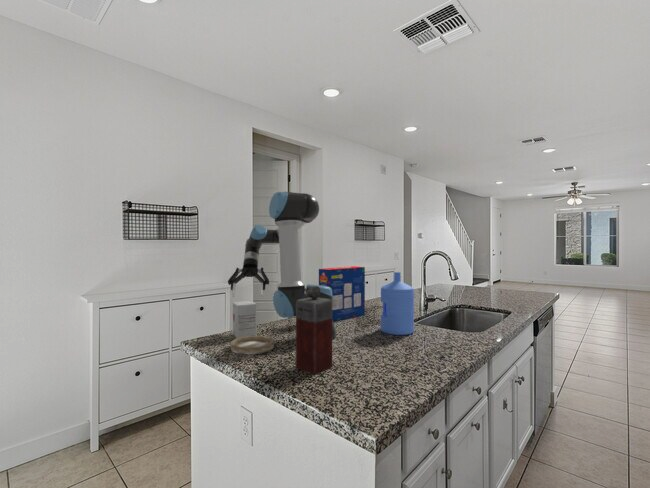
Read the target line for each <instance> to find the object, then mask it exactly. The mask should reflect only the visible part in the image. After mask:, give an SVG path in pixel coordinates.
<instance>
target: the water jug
mask: <svg viewBox="0 0 650 488" xmlns="http://www.w3.org/2000/svg"><path fill="white" fill-rule="evenodd" d="M401 277H402V276H401V272H399V271H396V272H395V271H394V272H393V281H391V282H388V283H387V284H385V285H383V286H381V288H380V302H382V314H381V315H380V331H382V332H383V333H385V334H388V335H393V336H406V335H411V334H413V333H414V331H415V326H414V325H415V319H414V317H415V306H414V305H415V304H414V303H415V300H414V299H415V289H414V287H413V286H411V285H409V284H407V283H405V282H403V281H401Z"/></svg>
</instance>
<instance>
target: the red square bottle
mask: <svg viewBox="0 0 650 488" xmlns="http://www.w3.org/2000/svg"><path fill="white" fill-rule="evenodd" d="M320 293H321V290H320V288H319V287H318V286H310V287H309V289H308V296H309V297H310V298H304V299H299V300H297V301H296V317H295V334H296V335H295V368H296V369H298V370H301V371H304V372H306V373H309V374H312V375H318V374H320V373H321V372H325V371H327V370H329V369H332V368H333V339H332V300H330V299H325V298H319V296H320Z"/></svg>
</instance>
